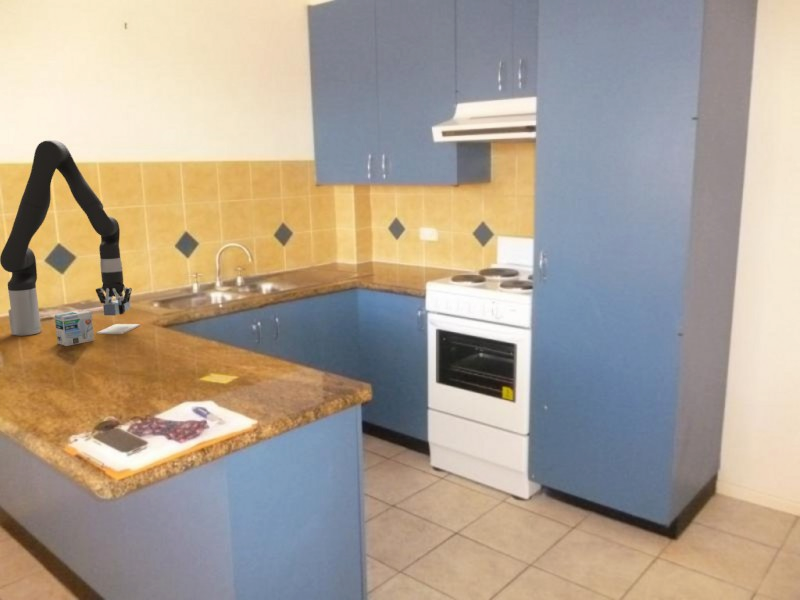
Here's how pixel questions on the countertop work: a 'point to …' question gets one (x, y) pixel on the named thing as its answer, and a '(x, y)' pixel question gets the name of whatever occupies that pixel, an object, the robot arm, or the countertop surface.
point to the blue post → (114, 307)
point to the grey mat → (118, 329)
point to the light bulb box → (74, 327)
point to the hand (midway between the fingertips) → (116, 313)
